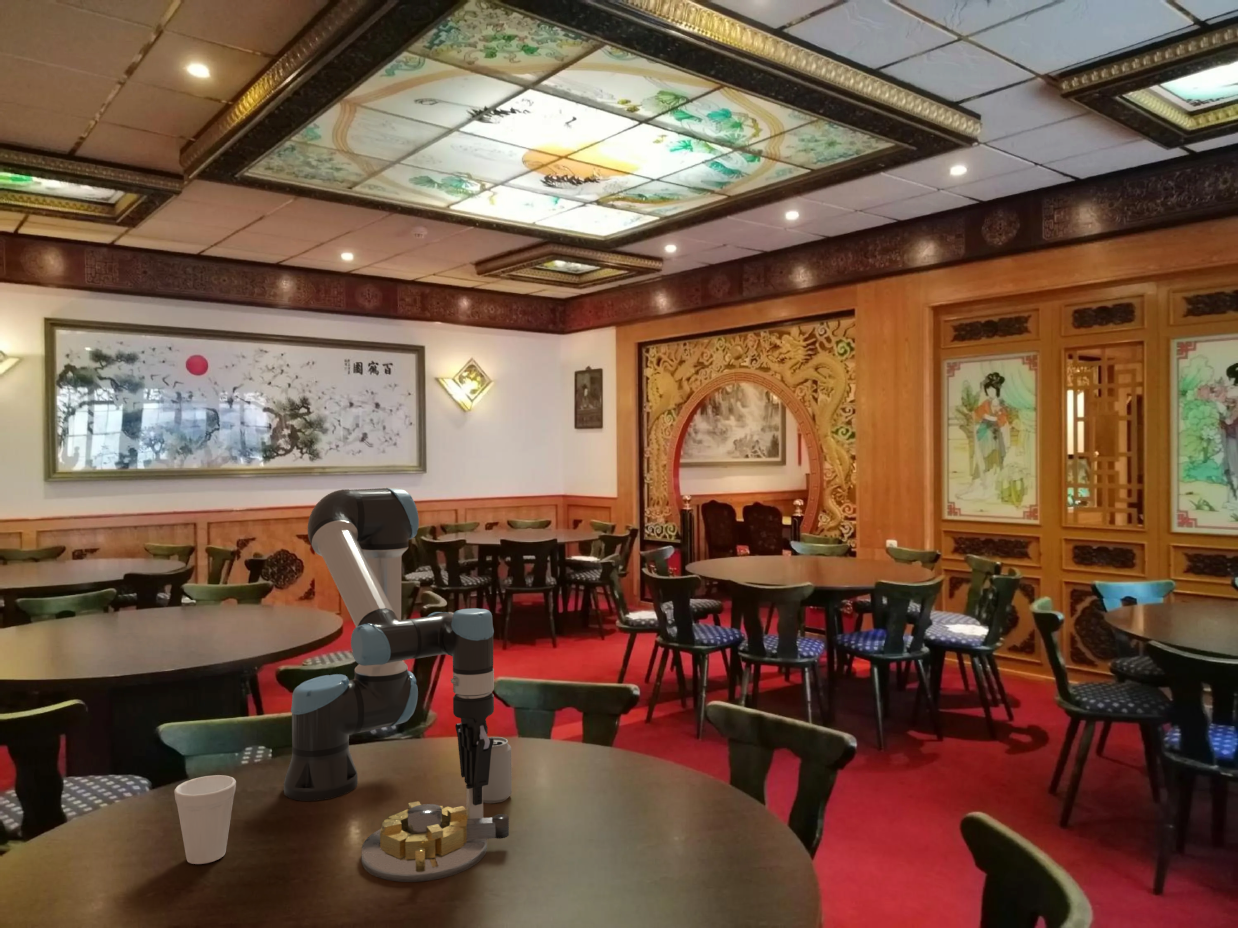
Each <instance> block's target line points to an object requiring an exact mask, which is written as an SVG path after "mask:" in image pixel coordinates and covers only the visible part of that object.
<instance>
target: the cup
mask: <svg viewBox="0 0 1238 928" xmlns="http://www.w3.org/2000/svg"><path fill="white" fill-rule="evenodd" d="M236 789H237V781H236V779H235V778H234V777H232V776H229V775H223V774H222V775H220V774H217V775H216V774H215V775H205V776H200V777H196V778H192V779H190V780H186V781H183V782H182V783H180V784H178V785H177V786H176V788H175V789H174V790H173V792H174V799H175V803H176V806H177V811H178V812H177V813H178V818H179V824H180V830H181V834H182V835H181V836H182V840H183V847H184V852H185V857H186V858H185V859H186V861H187V863H189V864H193V865H194V864H195V865H202V864H209V863H212V862H215V861H217V860H219V859H222V857H224V856H225V854H226V851H227V847H228V846H227V845H228V838H229V830H230V824H231V818H232V812H233V811H232V810H233V803H234V798H235V793H236Z"/></svg>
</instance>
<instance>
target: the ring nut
mask: <svg viewBox="0 0 1238 928" xmlns="http://www.w3.org/2000/svg"><path fill="white" fill-rule="evenodd" d="M418 805H422V803H421V802H420V801H419V800H418V801H413V802H408V803H407V809H405V810H403V811H400V812H397V813H395V814H392V815H390V816H387V819H384V820H383V822H382V823H381V828H380V829H381V830H380V829H379V830H380V848H382V851H384V852H386V853H388V854H391V855H393V856H395V857H397V858H402V857H404V856H406V859H415V851H416V850H417V849H419V848H423V849H425V858H435V856H436V854H438V855H440V856H443V855H445V854H447V853H449V852H451V851H453V850H456V849H458V848H460V847H462V846H464V843H467V840H473V839H487V840H489V839H497V840H498V839H499V840H500V839H505V838H508V837H509V836H510V816H509V815H508V814H504V813H500V814H495V815H493V816H492V817H483V818H474V819H468V815H467V809H466V807H465V805H460V806H457V807H451V806H445V807H443V806H444V805H439V806H440V807H441V808H442V828H441V827H440V826H439V825H438V824H436V825H431V826H427V833H422V834H410V833H408V811H409V809H411V808H412V807H415V806H418Z"/></svg>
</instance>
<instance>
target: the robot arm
mask: <svg viewBox="0 0 1238 928" xmlns="http://www.w3.org/2000/svg"><path fill="white" fill-rule="evenodd" d="M419 526H420V520H419V513H418V508H417V505H416V503H415V501H414V499H413V497H412V495H411V494H410V493H409V492H408V491H407V490H405V489H403V488H393V487H391V488H390V487H386V488H385V487H382V488H362V489H360V488H359V489H348V488H347V489H345V488H343V489H339V490H335V491H332V492H329V493H327V495H325V496H324V497H323V496H322V498H321V499H319V501H318V502H317V503H316V505H315V506H314V507H313V508H312V511H311V513H310V514H309V518H308V523H307V536H308V541H309V542H310V545H311V548H312V549H313V552H314V553H315V554H316V555H318V556H320V557H322V559H323V561H324V562H325V565H326V568H327V570H328V572H329V573H330V576H331V577H332V579H333V582H334V584H335V586H336V587H337V591H338V592H339V594H340V596H341V599H342V600H343V603H344V605H345V607H346V609H347V611H348V613H349V615H350V618H351V620H352V621H353V624H354V626H355V627H354V628H353V630H352V633H351V638H350V649H351V651H352V658H353V659H354V660H355V662H356V663H357V666H355V668H354V678H353V679H349V677H348V676H346V674H341V673H339V674H338V673H336V674H335V673H334V674H330V675H329V674H326V675H320V676H316V677H314V678H311V679H308V680H305V681H303V682H301V683H300V684H299V685H297V686H296V687H294V689H293V692H292V700H291V708H290V713H291V739H292V742H291V744H292V745H291V747H292V755H291V759H290V761H289V765H288V769H287V771H286V775H285V778H284V781H283V794H284V796H286V797H287V798H288V799H291V800H296V801H303V802H304V801H305V802H308V801H309V802H311V801H322V800H328V799H334V798H337V797H340V796H342V795H346V794H348V793H349V792H351V791H353V790H354V789H356V788H357V786H358V783H359V781H358V771H357V768H356V765H355V762H354V760H353V756H352V753H351V751H350V743H349V742H350V740H349V739H350V735H355V734H358V733H364V732H369V731H372V730H378V729H384V728H392V727H394V726H397V725H400V724H403V723H406V722H408V721H409V720H410V719H411V717H412V716H413V715H414V713H415V710H416V707H417V704H418V698H419V697H418V696H419V691H418V685H417V678H416V677H415V674H414V673H413V672H412V671H409V670H408V664H406V662H405V661H407V660H413V659H416V660H417V659H421V658H426V657H428V658H429V657H432V656H439V655H440V656H441V655H447V656H450V657H452V678H450V683H451V684H452V685H453V686H452V687H453V688H452V690H453V691H452V692H453V693H454V696H453V697H452V710H453V711H452V713H453V715H454V717H456V718H458V719H460V722H458V723H455V730H456V737H457V744H458V745H457V746H458V757H459V766H460V767H459V769H460V777H461V778H464V783H465V791H466V793H465V797H466V804H465V805H466V807H465V808H466V809H467V815H468V819H474V818H484V802H483V786H485V785H488V782H489V771H490V760H491V749H492V746H493V742H494V740H493V737H494V736H490V738H489V736H488V732H489V730H488V725H487V718H488V717H489V716H491V715H493V713H494V711H495V695H494V693H493V691H494V690H495V673H494V672H495V669H494V633H495V630H494V625H493V623H494V622H493V615H492V614H493V613H492V612H491V611H490V610H488V609H485V608H476V607H475V608H462V609H459V610H456V611H454V612H453V613H449V612H446V611H443V612H442V611H434V612H432V613H429V614H428V615H427V616H423V617H415V618H407V619H402V556H403V554H404V553H405V552H406V551H407V550H408V549H409V540H412V539H413V538H415V537H416V536H417V534H418V530H419Z"/></svg>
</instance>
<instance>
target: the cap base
mask: <svg viewBox="0 0 1238 928" xmlns="http://www.w3.org/2000/svg"><path fill="white" fill-rule="evenodd" d="M440 806H441V805H438V804H434V803H424V804H421V805H418V806H415V807H412V808H411V809H409V811H408V833H410V834H422V833H427V826H431V825H436V824H438V825H439V826H440V827H441V828H442V808H441V807H440ZM380 830H381V828H380V829H378V830H376V831H374V832H373V833H372V834H370V835H368V837H367V838H366V839H364V841H363V843H362V845H361V864H362V865H361V866H362V867H363V868H364V870H365V871H366V872H367V873H369V874H370V875H372V876H374V877H376V878H379V879H382V880H387V881H393V882H403V883H413V882H414V883H416V882H417V883H420V882H427V881H433V880H434V881H436V880H440V879H443V878H447V877H452V876H453V875H457V874H459V873H462V872H464V871H466V870H468V869H471V868H472V867H474V866H475V865H477V864H478V863H479V862H480V861H481V860H482V859H483V858H484V856H485V855H486V853H487V850H488V839H473V840H467V843H464V846H462V847H460V848H458V849H456V850H453V851H451V852H449V853H447V854H445V855H443V856H440V855H438V854H436V856H435V858H425V849H423V848H419V849H417V850H416V851H415V859H406V856H404V857H402V858H397V857H395V856H393V855H391V854H388V853H386V852H384V851H382V848H380Z"/></svg>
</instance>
